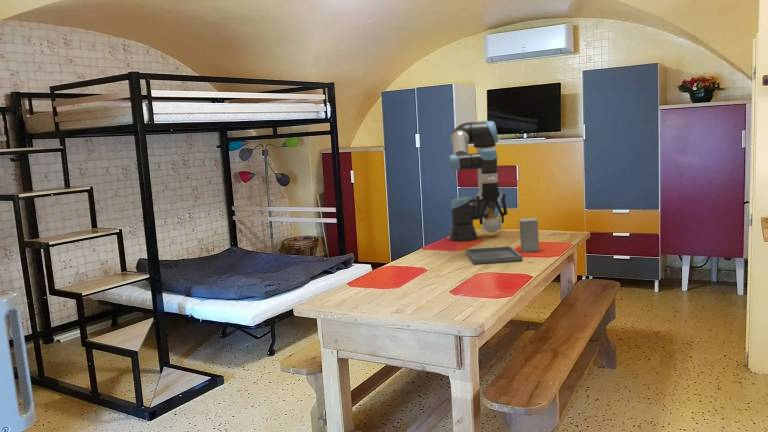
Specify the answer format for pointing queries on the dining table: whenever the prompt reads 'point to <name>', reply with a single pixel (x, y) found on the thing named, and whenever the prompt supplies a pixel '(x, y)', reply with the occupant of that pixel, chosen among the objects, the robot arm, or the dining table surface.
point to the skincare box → (529, 234)
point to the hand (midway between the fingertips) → (492, 230)
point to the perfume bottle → (491, 221)
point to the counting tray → (493, 255)
